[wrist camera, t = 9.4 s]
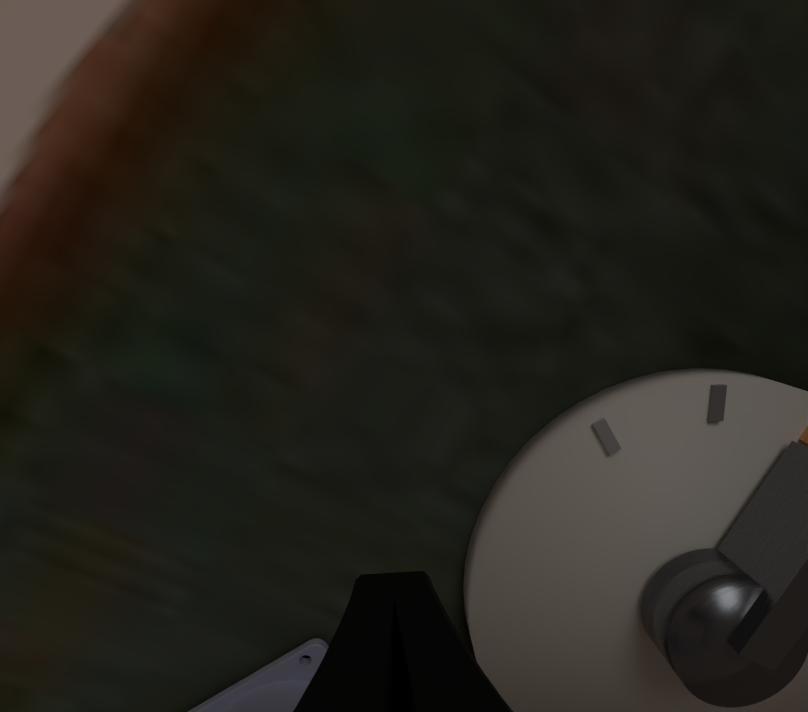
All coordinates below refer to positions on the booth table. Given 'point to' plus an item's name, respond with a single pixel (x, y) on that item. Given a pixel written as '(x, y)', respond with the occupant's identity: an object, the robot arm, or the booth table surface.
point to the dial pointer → (740, 597)
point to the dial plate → (618, 536)
